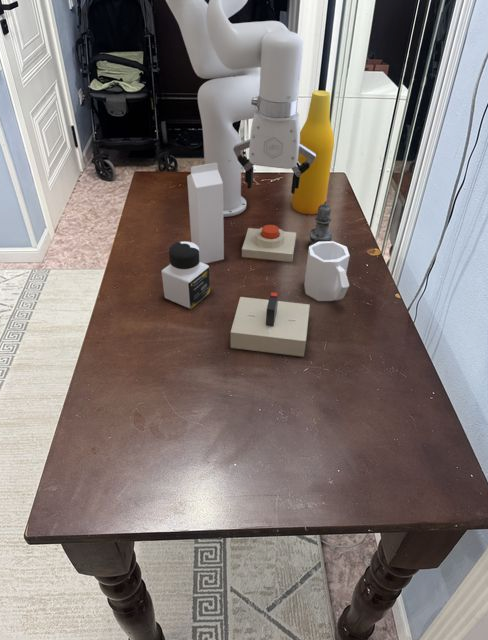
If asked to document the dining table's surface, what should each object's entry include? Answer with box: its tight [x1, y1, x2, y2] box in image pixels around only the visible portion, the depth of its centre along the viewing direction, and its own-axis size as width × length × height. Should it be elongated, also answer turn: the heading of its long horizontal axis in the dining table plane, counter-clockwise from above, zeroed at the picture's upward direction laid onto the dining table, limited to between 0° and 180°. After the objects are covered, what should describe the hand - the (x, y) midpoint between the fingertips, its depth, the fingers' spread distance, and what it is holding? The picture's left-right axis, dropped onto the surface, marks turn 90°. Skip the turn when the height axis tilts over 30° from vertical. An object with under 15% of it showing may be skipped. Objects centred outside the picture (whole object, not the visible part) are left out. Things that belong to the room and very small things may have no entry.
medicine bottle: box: [161, 240, 211, 310], centre depth 101 cm, size 7×7×12 cm
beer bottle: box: [291, 90, 335, 216], centre depth 126 cm, size 9×9×29 cm
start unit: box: [241, 227, 297, 263], centre depth 119 cm, size 12×10×4 cm
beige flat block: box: [230, 296, 311, 358], centre depth 96 cm, size 14×11×4 cm
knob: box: [266, 291, 279, 326], centre depth 93 cm, size 5×2×4 cm, turn 170°
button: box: [261, 224, 280, 239], centre depth 117 cm, size 4×4×2 cm
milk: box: [186, 163, 225, 264], centre depth 109 cm, size 6×6×22 cm
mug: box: [303, 240, 351, 302], centre depth 103 cm, size 12×9×10 cm
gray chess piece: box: [308, 200, 334, 248], centre depth 117 cm, size 6×6×12 cm
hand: (271, 188), depth 109 cm, fingers open, 9 cm apart
